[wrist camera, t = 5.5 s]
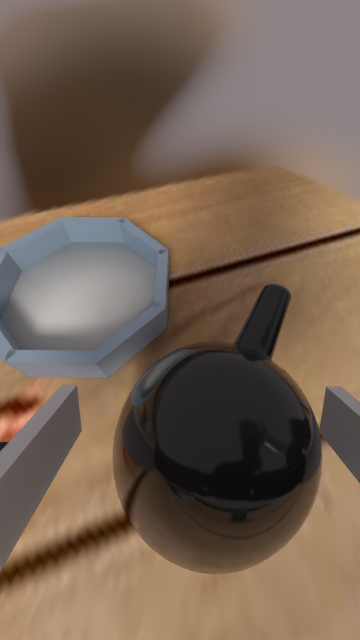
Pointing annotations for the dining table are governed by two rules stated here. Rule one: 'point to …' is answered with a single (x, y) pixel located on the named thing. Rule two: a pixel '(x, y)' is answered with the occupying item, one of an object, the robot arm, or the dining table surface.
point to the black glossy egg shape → (219, 449)
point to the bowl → (81, 297)
